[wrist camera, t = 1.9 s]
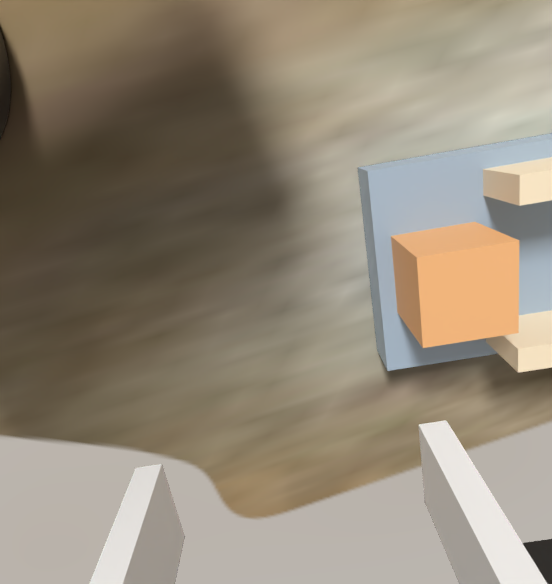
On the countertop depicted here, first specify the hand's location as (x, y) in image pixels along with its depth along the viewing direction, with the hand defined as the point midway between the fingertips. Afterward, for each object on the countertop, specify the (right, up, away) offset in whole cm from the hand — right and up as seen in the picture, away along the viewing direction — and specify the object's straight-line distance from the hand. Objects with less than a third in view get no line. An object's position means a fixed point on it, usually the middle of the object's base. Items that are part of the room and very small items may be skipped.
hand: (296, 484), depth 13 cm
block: (+9, +7, +15) cm, 19 cm away
